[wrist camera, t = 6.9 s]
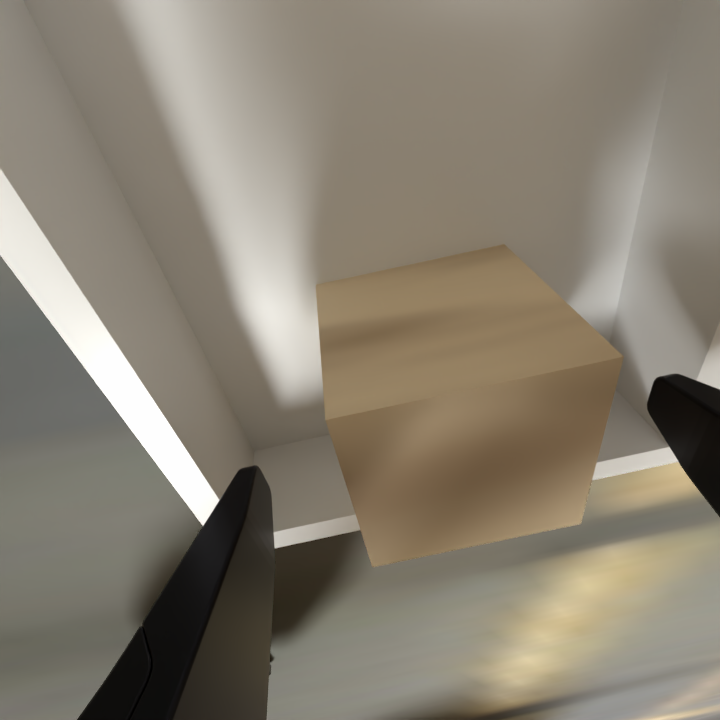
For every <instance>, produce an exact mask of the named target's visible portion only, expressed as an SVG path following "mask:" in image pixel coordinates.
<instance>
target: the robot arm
mask: <svg viewBox="0 0 720 720" xmlns="http://www.w3.org/2000/svg"><path fill="white" fill-rule="evenodd" d="M647 410H648V413H649V415H650V416H651V418H652V420H653V421H654V423H655V425H656V426H657V428H658V429H659V431H660V433H661V434H662V436H663V437H664V439H665V441H666V442H667V444H668V446H669V447H670V449H671V450H672V452H673V454H674V455H675V457H676V458H677V460H678V462H679V463H680V465H681V466H682V468H683V469H684V471H685V472H686V474H687V475H688V476H689V478H690V479H691V481H692V482H693V483H694V485H695V486H696V487H697V488H698V490H699V491H700V492H701V494H702V495H703V496H704V497H705V499H706V500H707V501H708V503H709V504H710V505H711V507H712V508H713V509H714V510H715V512H716V513H717V514H718V516H719V517H720V389H717V388H715V387H712V386H710V385H707V384H704V383H702V382H699V381H697V380H694V379H691V378H689V377H686V376H683V375H681V374H676V373H674V374H668V375H664V376H659V377H657V378H656V379H655V380H654V382H653V385H652V388H651V391H650V394H649V398H648V401H647ZM274 576H275V548H274V530H273V512H272V495H271V490H270V487H269V485H268V483H267V481H266V479H265V477H264V475H263V473H262V471H261V469H260V468H259V467H258V466H257V465H253V466H249V467H244V468H241V469H239V470H238V471H237V473H236V475H235V476H234V478H233V479H232V481H231V482H230V484H229V486H228V487H227V489H226V490H225V492H224V494H223V495H222V497H221V498H220V500H219V502H218V503H217V505H216V506H215V508H214V510H213V511H212V513H211V514H210V516H209V517H208V519H207V521H206V522H205V524H204V525H203V527H202V529H201V530H200V532H199V533H198V535H197V537H196V538H195V540H194V541H193V543H192V545H191V546H190V548H189V549H188V551H187V552H186V554H185V556H184V557H183V559H182V560H181V562H180V564H179V565H178V567H177V568H176V570H175V572H174V573H173V575H172V576H171V578H170V579H169V581H168V583H167V584H166V586H165V587H164V589H163V591H162V592H161V594H160V595H159V597H158V599H157V600H156V602H155V603H154V605H153V607H152V608H151V610H150V611H149V613H148V614H147V616H146V618H145V619H144V621H143V623H142V625H143V626H141V627H139V629H138V630H137V632H136V633H135V635H134V636H133V638H132V640H131V641H130V643H129V644H128V646H127V648H126V649H125V651H124V652H123V654H122V655H121V657H120V658H119V660H118V661H117V663H116V664H115V666H114V667H113V669H112V670H111V672H110V674H109V675H108V677H107V678H106V680H105V681H104V682H103V684H102V685H101V687H100V688H99V689H98V691H97V692H96V694H95V695H94V697H93V698H92V699H91V701H90V702H89V704H88V705H87V706H86V708H85V709H84V711H83V712H82V714H81V715H80V716H79V718H78V719H77V720H266V717H267V700H268V682H269V675H270V674H271V665H270V647H271V629H272V612H273V594H274Z"/></svg>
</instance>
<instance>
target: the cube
mask: <svg viewBox="0 0 720 720" xmlns="http://www.w3.org/2000/svg"><path fill="white" fill-rule="evenodd" d="M316 298H317V312H318V326H319V339H320V353H321V367H322V381H323V395H324V408H325V420H326V424H327V427H328V430H329V433H330V436H331V439H332V442H333V445H334V449H335V452H336V455H337V458H338V461H339V464H340V467H341V470H342V474H343V477H344V480H345V483H346V486H347V489H348V492H349V495H350V499H351V502H352V505H353V508H354V511H355V514H356V517H357V520H358V524H359V527H360V530H361V533H362V536H363V539H364V542H365V545H366V548H367V552H368V555H369V558H370V561H371V564H372V567H376V566H381V565H386V564H391V563H395V562H400V561H405V560H410V559H415V558H419V557H424V556H429V555H434V554H439V553H443V552H448V551H453V550H458V549H463V548H468V547H472V546H477V545H482V544H487V543H492V542H496V541H501V540H506V539H511V538H516V537H520V536H525V535H530V534H535V533H540V532H544V531H549V530H554V529H559V528H564V527H569V526H573V525H578V524H581V521H582V517H583V513H584V509H585V506H586V502H587V498H588V494H589V490H590V486H591V482H592V478H593V475H594V471H595V467H596V463H597V459H598V455H599V451H600V448H601V444H602V440H603V436H604V432H605V428H606V424H607V420H608V417H609V413H610V409H611V405H612V401H613V397H614V393H615V389H616V386H617V382H618V378H619V374H620V370H621V366H622V362H623V358H624V356H623V355H622V354H621V353H620V352H618V351H617V350H616V349H615V348H614V347H613V346H612V345H611V344H610V343H609V342H608V341H607V340H606V339H605V338H604V337H603V336H601V335H600V334H599V333H598V332H597V331H596V330H595V329H594V328H593V327H592V326H591V325H590V324H589V323H588V322H587V321H586V320H584V319H583V318H582V317H581V316H580V315H579V314H578V313H577V312H576V311H575V310H574V309H573V308H572V307H571V306H570V305H569V304H567V303H566V302H565V301H564V300H563V299H562V298H561V297H560V296H559V295H558V294H557V293H556V292H555V291H554V290H553V289H552V288H550V287H549V286H548V285H547V284H546V283H545V282H544V281H543V280H542V279H541V278H540V277H539V276H538V275H537V274H536V273H535V272H533V271H532V270H531V269H530V268H529V267H528V266H527V265H526V264H525V263H524V262H523V261H522V260H521V259H520V258H519V257H518V256H516V255H515V254H514V253H513V252H512V251H511V250H510V249H509V248H508V247H507V246H506V245H505V244H503V245H498V246H493V247H489V248H484V249H479V250H475V251H470V252H466V253H461V254H456V255H452V256H447V257H442V258H438V259H433V260H428V261H424V262H419V263H415V264H410V265H405V266H401V267H396V268H391V269H387V270H382V271H377V272H373V273H368V274H364V275H359V276H354V277H350V278H345V279H340V280H336V281H331V282H326V283H322V284H317V285H316Z"/></svg>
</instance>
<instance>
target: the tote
mask: <svg viewBox="0 0 720 720" xmlns="http://www.w3.org/2000/svg"><path fill="white" fill-rule="evenodd" d="M503 244H505V245H506V246H507V247H508V248H509V249H510V250H511V251H512V252H513V253H514V254H515V255H516V256H518V257H519V258H520V259H521V260H522V261H523V262H524V263H525V264H526V265H527V266H528V267H529V268H530V269H531V270H532V271H533V272H535V273H536V274H537V275H538V276H539V277H540V278H541V279H542V280H543V281H544V282H545V283H546V284H547V285H548V286H549V287H550V288H552V289H553V290H554V291H555V292H556V293H557V294H558V295H559V296H560V297H561V298H562V299H563V300H564V301H565V302H566V303H567V304H569V305H570V306H571V307H572V308H573V309H574V310H575V311H576V312H577V313H578V314H579V315H580V316H581V317H582V318H583V319H584V320H586V321H587V322H588V323H589V324H590V325H591V326H592V327H593V328H594V329H595V330H596V331H597V332H598V333H599V334H600V335H601V336H603V337H604V338H605V339H606V340H607V341H608V342H609V343H610V344H611V345H612V346H613V347H614V348H615V349H616V350H617V351H618V352H620V353H621V354H622V355H623V356H624V358H623V362H622V366H621V370H620V374H619V378H618V382H617V386H616V389H615V393H614V397H613V401H612V405H611V409H610V413H609V417H608V420H607V424H606V428H605V432H604V436H603V440H602V444H601V448H600V451H599V455H598V459H597V463H596V467H595V471H594V475H593V478H592V480H596V479H601V478H606V477H610V476H615V475H620V474H624V473H629V472H633V471H638V470H643V469H647V468H652V467H657V466H661V465H666V464H671V463H675V462H678V460H677V458H676V457H675V455H674V454H673V452H672V450H671V449H670V447H669V446H668V444H667V442H666V441H665V439H664V437H663V436H662V434H661V433H660V431H659V429H658V428H657V426H656V425H655V423H654V421H653V420H652V418H651V416H650V415H649V413H648V410H647V401H648V398H649V394H650V391H651V388H652V385H653V382H654V380H655V379H656V378H657V377H659V376H664V375H668V374H674V373H676V374H681V375H683V376H686V377H689V378H691V379H694V380H697V381H699V382H702V383H704V384H707V385H710V386H712V387H715V388H717V389H720V0H0V255H1V257H2V258H3V259H4V261H5V262H6V263H7V265H8V266H9V267H10V269H11V270H12V271H13V273H14V274H15V275H16V277H17V278H18V279H19V281H20V282H21V283H22V285H23V286H24V287H25V289H26V290H27V291H28V293H29V294H30V295H31V297H32V298H33V299H34V301H35V302H36V303H37V305H38V306H39V307H40V309H41V310H42V311H43V313H44V314H45V315H46V317H47V318H48V319H49V321H50V322H51V323H52V325H53V326H54V327H55V329H56V330H57V331H58V333H59V334H60V335H61V337H62V338H63V339H64V341H65V342H66V343H67V345H68V346H69V347H70V349H71V350H72V351H73V353H74V354H75V355H76V357H77V358H78V359H79V361H80V362H81V363H82V365H83V366H84V367H85V369H86V370H87V371H88V373H89V374H90V375H91V377H92V378H93V379H94V381H95V382H96V384H97V385H98V386H99V388H100V389H101V390H102V392H103V393H104V394H105V396H106V397H107V398H108V400H109V401H110V402H111V404H112V405H113V406H114V408H115V409H116V410H117V412H118V413H119V414H120V416H121V417H122V418H123V420H124V421H125V422H126V424H127V425H128V426H129V428H130V429H131V430H132V432H133V433H134V434H135V436H136V437H137V438H138V440H139V441H140V442H141V444H142V445H143V446H144V448H145V449H146V450H147V452H148V453H149V454H150V456H151V457H152V458H153V460H154V461H155V462H156V464H157V465H158V466H159V468H160V469H161V470H162V472H163V473H164V474H165V476H166V477H167V478H168V480H169V481H170V482H171V484H172V485H173V486H174V488H175V489H176V490H177V492H178V493H179V494H180V496H181V497H182V498H183V500H184V501H185V502H186V504H187V505H188V506H189V508H190V509H191V510H192V512H193V513H194V514H195V516H196V517H197V518H198V520H199V521H200V522H201V524H202V525H204V524H205V522H206V521H207V519H208V517H209V516H210V514H211V513H212V511H213V510H214V508H215V506H216V505H217V503H218V502H219V500H220V498H221V497H222V495H223V494H224V492H225V490H226V489H227V487H228V486H229V484H230V482H231V481H232V479H233V478H234V476H235V475H236V473H237V471H238V470H239V469H241V468H244V467H249V466H253V465H257V466H258V467H259V468H260V469H261V471H262V473H263V475H264V477H265V479H266V481H267V483H268V485H269V487H270V490H271V495H272V512H273V530H274V548H279V547H284V546H288V545H293V544H298V543H302V542H307V541H312V540H316V539H321V538H326V537H330V536H335V535H340V534H344V533H349V532H354V531H358V530H360V527H359V524H358V520H357V517H356V514H355V511H354V508H353V505H352V502H351V499H350V495H349V492H348V489H347V486H346V483H345V480H344V477H343V474H342V470H341V467H340V464H339V461H338V458H337V455H336V452H335V449H334V445H333V442H332V439H331V436H330V433H329V430H328V427H327V424H326V420H325V408H324V395H323V381H322V367H321V353H320V339H319V326H318V312H317V298H316V285H317V284H322V283H326V282H331V281H336V280H340V279H345V278H350V277H354V276H359V275H364V274H368V273H373V272H377V271H382V270H387V269H391V268H396V267H401V266H405V265H410V264H415V263H419V262H424V261H428V260H433V259H438V258H442V257H447V256H452V255H456V254H461V253H466V252H470V251H475V250H479V249H484V248H489V247H493V246H498V245H503Z"/></svg>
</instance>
